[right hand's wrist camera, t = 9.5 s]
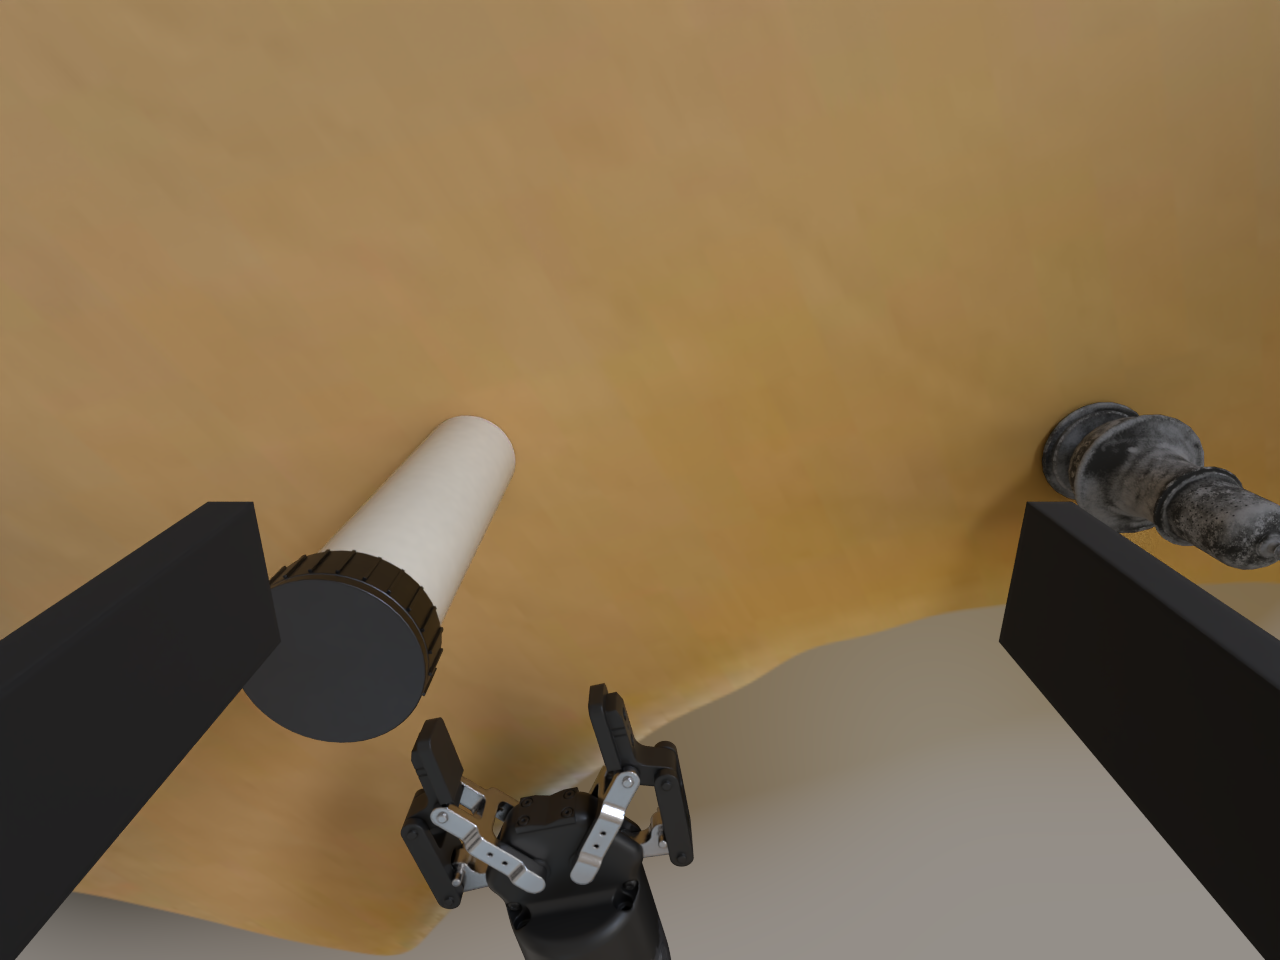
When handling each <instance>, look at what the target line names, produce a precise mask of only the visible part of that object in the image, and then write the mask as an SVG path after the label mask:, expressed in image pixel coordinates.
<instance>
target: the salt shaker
mask: <svg viewBox="0 0 1280 960" xmlns="http://www.w3.org/2000/svg"><path fill="white" fill-rule="evenodd" d="M1042 464H1043V472H1044V475H1045V477H1046V479H1047V482H1048V483H1049V484H1050V485H1051V486H1052V487H1053V489H1054V490H1055V491H1057V492H1058V493H1060V494H1062V495H1063V496H1065V497H1067V498H1071V499H1075V500H1076V502H1077V504H1078V506H1079V507H1081V508H1082V509H1084V510H1085V511H1087V512H1088V513H1090V514H1091V515H1093V516H1094V517H1096V518H1097V519H1099V520H1100V521H1102V522H1103V523H1104V524H1106V525H1107V526H1109V527H1110V528H1112V529H1113V530H1115V531H1116V532H1118V533H1134V532H1139V531H1143V530H1147V529H1150V528H1153V527H1155V528H1156V530H1157V532H1158V533H1159V534H1160V535H1161V536H1162V537H1163V538H1164V539H1166V540H1168V541H1169V542H1171V543H1173V544H1177V545H1181V546H1196V547H1197V548H1199V549H1201V550H1202V551H1204V552H1206V553H1207V554H1209V555H1211V556H1212V557H1214V558H1216V559H1217V560H1219V561H1221V562H1222V563H1224V564H1226V565H1228V566H1231V567H1234V568H1238V569H1243V570H1246V569H1257V568H1262V567H1266V566H1269V565H1271V564H1273V563H1275V562H1277V561H1278V560H1280V506H1279V505H1277V504H1276V503H1274V502H1271V501H1269V500H1267V499H1265V498H1263V497H1261V496H1258V495H1256V494H1254V493H1252V492H1250V491H1247V490H1245V489H1243V487H1242V484H1241V482H1240V481H1239V479H1238V478H1237V477H1236V476H1235V475H1234V474H1232V473H1231V472H1229V471H1227V470H1225V469H1222V468H1217V467H1204V451H1203V448H1202V445H1201V442H1200V439H1199V438H1198V436H1197V435H1196V434H1195V433H1194V431H1193V430H1192V429H1191V428H1190V427H1189V426H1188V425H1186V424H1184V423H1183V422H1181V421H1180V420H1178V419H1176V418H1172V417H1168V416H1164V415H1141V416H1139V415H1138V414H1137V413H1136V412H1135V411H1133V410H1132V409H1130V408H1128V407H1127V406H1124V405H1121V404H1117V403H1113V402H1098V403H1094V404H1090V405H1087V406H1083V407H1082V408H1080V409H1078V410H1076V411H1074V412H1072V413H1070V414H1069V415H1068V416H1067V417H1065V418H1064V419H1063V420H1062V421H1061V422H1059V424H1058V425H1057V426H1056V427H1055V429H1054V430H1053V431H1052V432H1051V434H1050V436H1049V438H1048V440H1047V442H1046V444H1045V446H1044V451H1043V457H1042Z"/></svg>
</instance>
